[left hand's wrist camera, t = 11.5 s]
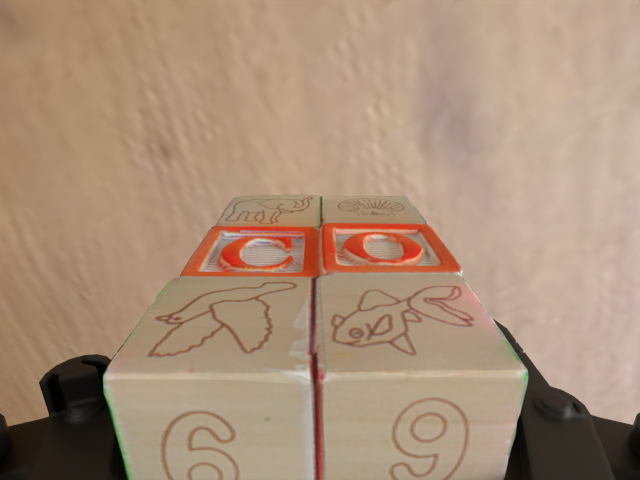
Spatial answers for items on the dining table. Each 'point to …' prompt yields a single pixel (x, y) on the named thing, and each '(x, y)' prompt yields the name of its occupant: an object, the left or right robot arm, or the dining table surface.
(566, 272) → the dining table surface
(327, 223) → the stack of blocks
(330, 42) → the dining table surface
